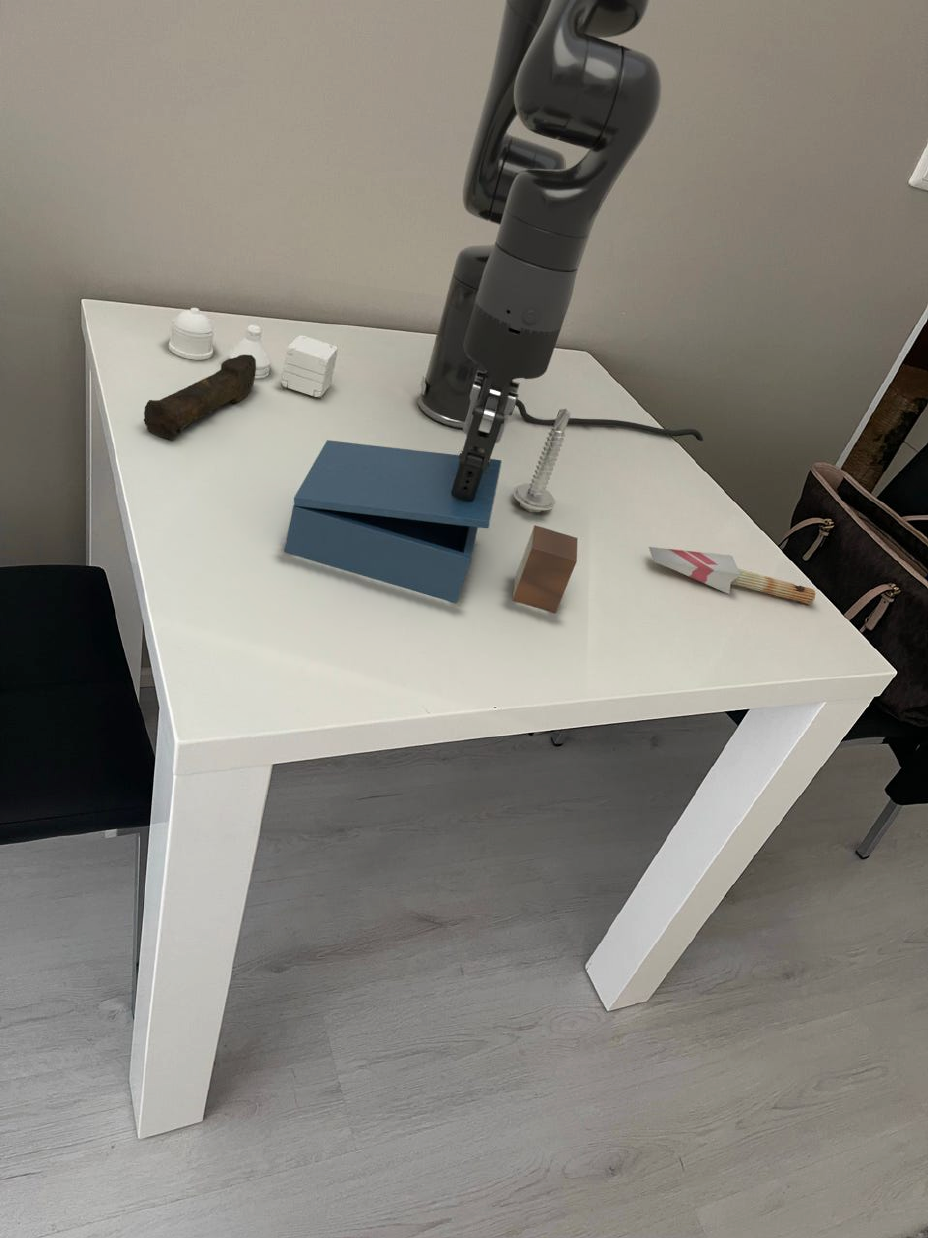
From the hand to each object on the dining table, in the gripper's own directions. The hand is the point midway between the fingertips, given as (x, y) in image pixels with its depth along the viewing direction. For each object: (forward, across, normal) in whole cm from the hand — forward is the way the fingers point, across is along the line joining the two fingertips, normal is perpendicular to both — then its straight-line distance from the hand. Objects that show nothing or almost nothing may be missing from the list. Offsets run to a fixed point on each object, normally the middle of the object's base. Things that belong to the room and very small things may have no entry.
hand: (465, 483), depth 89 cm
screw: (+10, -17, +8) cm, 21 cm away
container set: (+10, -31, -29) cm, 44 cm away
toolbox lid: (+2, 0, -6) cm, 6 cm away
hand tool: (+10, -18, -30) cm, 36 cm away
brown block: (+10, +1, +10) cm, 14 cm away
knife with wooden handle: (+10, -14, +32) cm, 36 cm away
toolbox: (+10, 0, -6) cm, 11 cm away
